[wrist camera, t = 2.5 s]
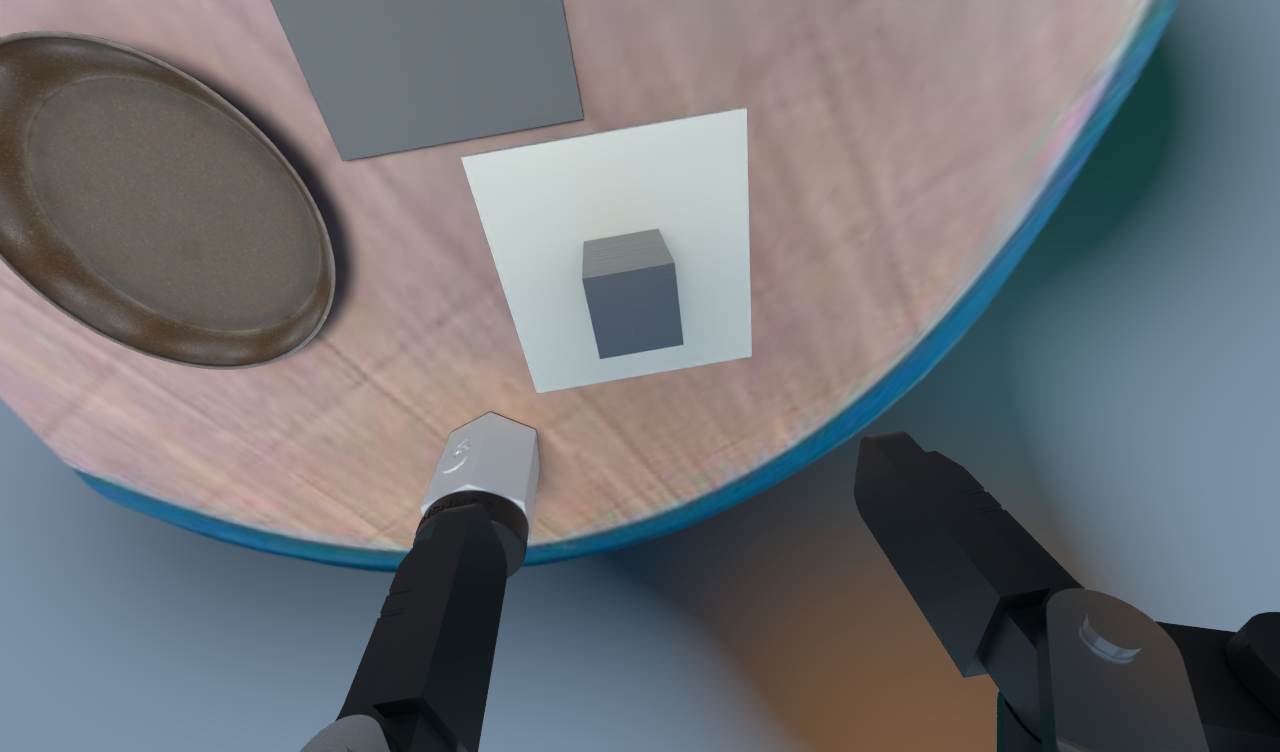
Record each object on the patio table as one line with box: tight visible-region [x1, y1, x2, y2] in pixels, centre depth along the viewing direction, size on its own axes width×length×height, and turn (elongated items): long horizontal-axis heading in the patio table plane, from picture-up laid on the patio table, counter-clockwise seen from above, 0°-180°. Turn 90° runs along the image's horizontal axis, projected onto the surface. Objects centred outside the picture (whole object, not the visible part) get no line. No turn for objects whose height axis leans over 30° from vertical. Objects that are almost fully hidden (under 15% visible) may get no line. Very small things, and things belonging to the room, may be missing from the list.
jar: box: [413, 412, 540, 578], centre depth 40 cm, size 9×8×12 cm
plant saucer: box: [0, 31, 336, 370], centre depth 31 cm, size 21×21×3 cm
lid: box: [461, 107, 752, 394], centre depth 21 cm, size 12×12×6 cm
